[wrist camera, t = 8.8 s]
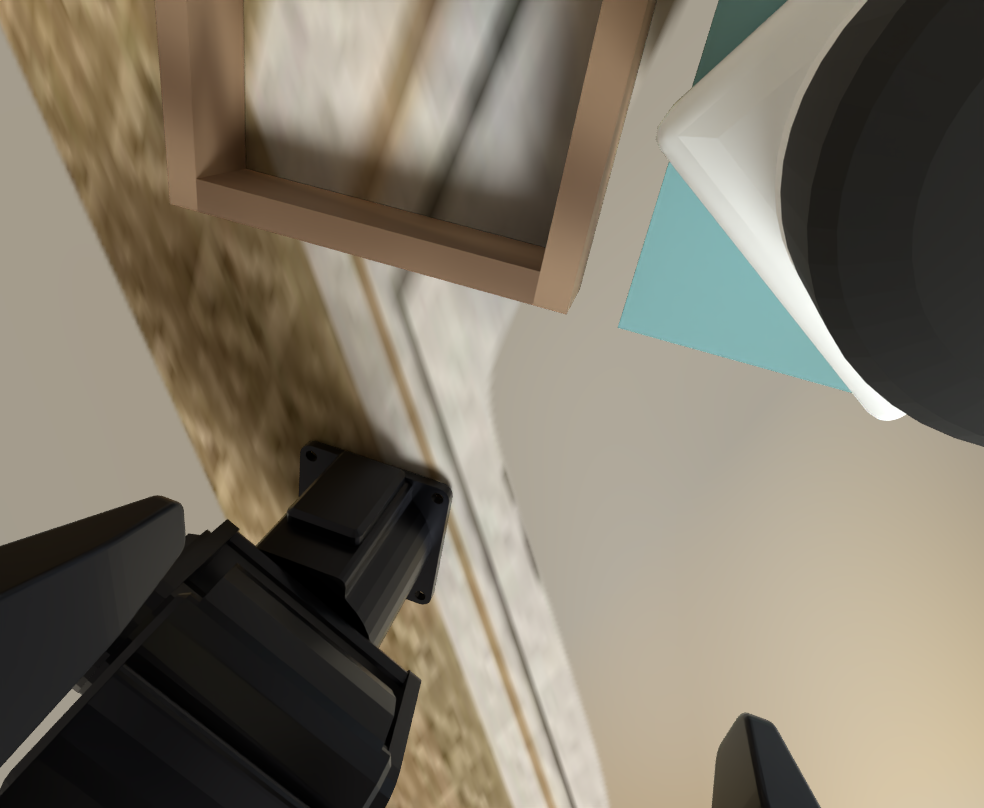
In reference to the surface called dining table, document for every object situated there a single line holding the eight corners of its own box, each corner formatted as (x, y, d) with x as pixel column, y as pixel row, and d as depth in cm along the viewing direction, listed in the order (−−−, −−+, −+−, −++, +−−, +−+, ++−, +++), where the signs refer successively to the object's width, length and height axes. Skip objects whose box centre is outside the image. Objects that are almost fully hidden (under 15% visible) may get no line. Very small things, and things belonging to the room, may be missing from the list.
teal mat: (912, 405, 19) (916, 411, 18) (619, 323, 20) (617, 327, 20) (1297, -228, 12) (1316, -238, 11) (807, -287, 13) (810, -297, 13)
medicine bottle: (818, 313, 18) (985, 627, 8) (662, 114, 17) (615, 170, 7) (1112, 128, 14) (2141, 251, 4) (941, -141, 13) (1789, -888, 3)
